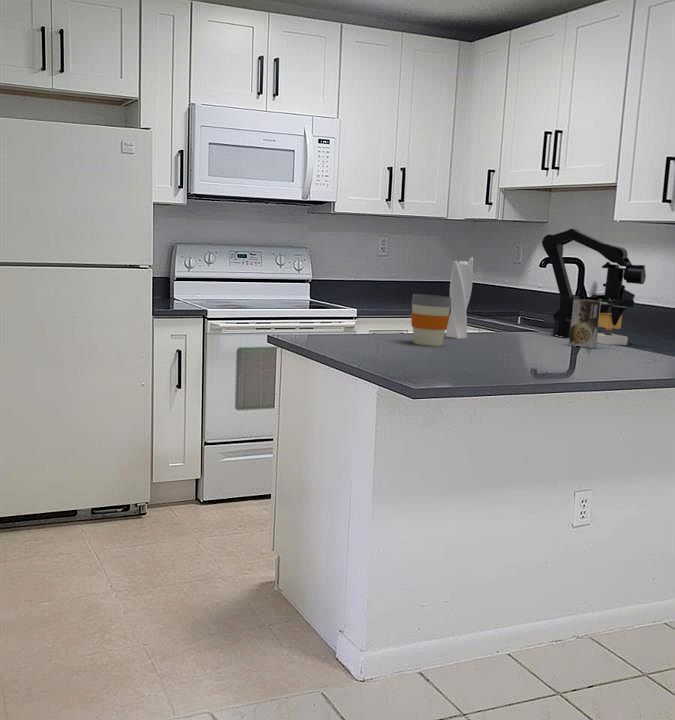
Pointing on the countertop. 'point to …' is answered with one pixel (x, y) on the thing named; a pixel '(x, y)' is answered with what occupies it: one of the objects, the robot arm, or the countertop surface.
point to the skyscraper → (459, 299)
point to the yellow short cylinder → (608, 321)
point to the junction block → (611, 338)
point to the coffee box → (584, 323)
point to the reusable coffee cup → (429, 318)
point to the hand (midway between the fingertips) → (608, 324)
